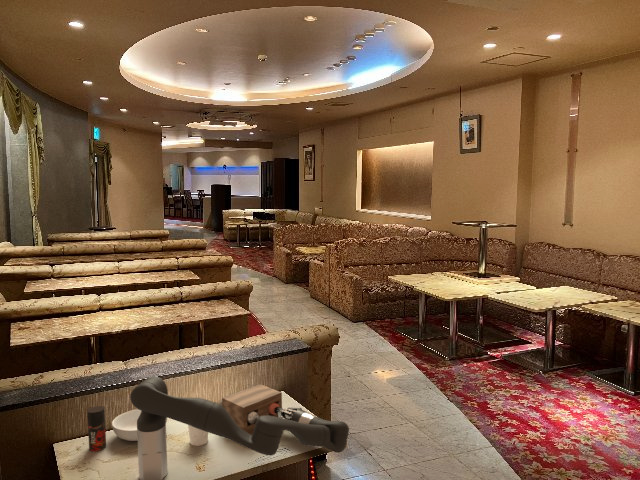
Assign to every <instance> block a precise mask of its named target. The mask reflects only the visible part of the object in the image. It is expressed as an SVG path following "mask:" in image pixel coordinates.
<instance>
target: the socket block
mask: <svg viewBox="0 0 640 480" xmlns="http://www.w3.org/2000/svg"><path fill="white" fill-rule="evenodd" d="M282 397H283V394H282V391H279V390H276V389H273V388H271V387H269V386H266V385H263V384H262V383H259V384H256V385H253V386H251V387H248V388H245V389H243V390H240V391H237V392H234V393H232V394H229V395H226V396H223V397H221V400H222V406H223V407H224V408H225V409H226V410H227V412H228V413H229V414H230V416H231V417H232V419H233V420H234V421H235V423H236V424H237V425H238V426H239V427H240V428H241V429H242V430H244V431H245V432H247V433H249V434H251V435H252V434H253V431H254V428H255V424H256V423H255V424H251V423H249V422H247V413H249V412H251V411H254V412H256V413H258V415H259V417H260V416H274V417H278V414H276V415H273V414H271V413H269V404H271V403H273V402H274V403H276V404H278V405H279V406H280V408H283V398H282Z"/></svg>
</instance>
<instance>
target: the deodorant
mask: <svg viewBox="0 0 640 480" xmlns="http://www.w3.org/2000/svg"><path fill="white" fill-rule="evenodd" d="M86 411H87V412H86V413H87V416H86V417H87V430H88V449H89V451H90V452H95V453H96V452H99V451H102V450H104V449H106V448H107V434H106V433H107V432H106V431H107V430H106V411H105V406H104V405H103V406H102V405H95V406H92V407H89V408H88V409H86Z"/></svg>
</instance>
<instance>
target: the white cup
mask: <svg viewBox="0 0 640 480" xmlns="http://www.w3.org/2000/svg"><path fill="white" fill-rule="evenodd" d="M187 428H188V436H189V443H190V445H192V446H196V447H197V446H203V445H205V444H207V443H208V442H209V432H206V431H203V430H200V429H197V428H195V427H192V426H190V425H187Z"/></svg>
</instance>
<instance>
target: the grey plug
mask: <svg viewBox="0 0 640 480" xmlns="http://www.w3.org/2000/svg"><path fill="white" fill-rule="evenodd" d="M258 418H259V415H258V413H256V412H254V411H251V412H249V413H247V422H249V423H251V424H255V423H256V422H257V419H258Z"/></svg>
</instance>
